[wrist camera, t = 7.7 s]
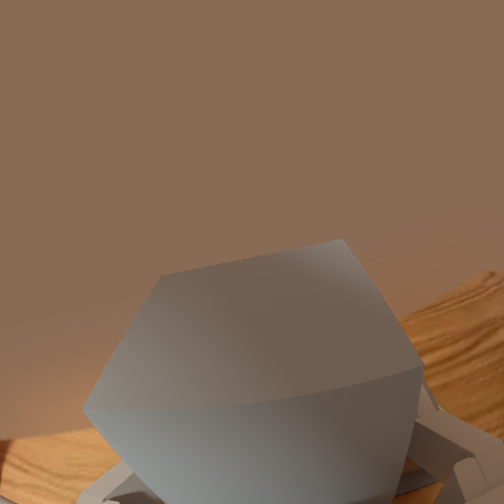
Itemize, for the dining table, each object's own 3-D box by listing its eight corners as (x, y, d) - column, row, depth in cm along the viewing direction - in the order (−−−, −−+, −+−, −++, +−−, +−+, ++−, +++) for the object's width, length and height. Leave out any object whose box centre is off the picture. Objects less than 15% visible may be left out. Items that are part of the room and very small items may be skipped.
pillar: (241, 562, 7) (81, 409, 4) (245, 467, 12) (161, 276, 9) (375, 545, 7) (424, 364, 4) (355, 450, 12) (342, 239, 8)
